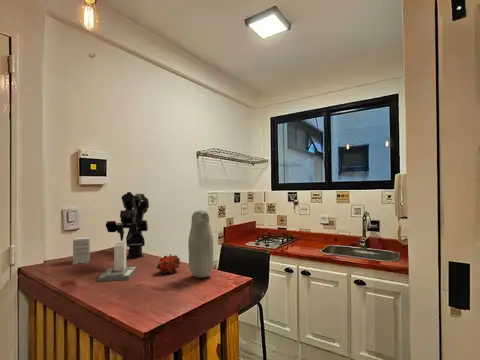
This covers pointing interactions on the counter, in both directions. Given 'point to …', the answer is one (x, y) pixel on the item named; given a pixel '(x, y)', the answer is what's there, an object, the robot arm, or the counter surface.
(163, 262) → the dragon fruit
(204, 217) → the grey bottle
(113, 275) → the docking station
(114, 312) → the counter surface
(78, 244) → the grey ridged block
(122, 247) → the cream tall block
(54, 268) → the counter surface
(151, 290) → the counter surface
